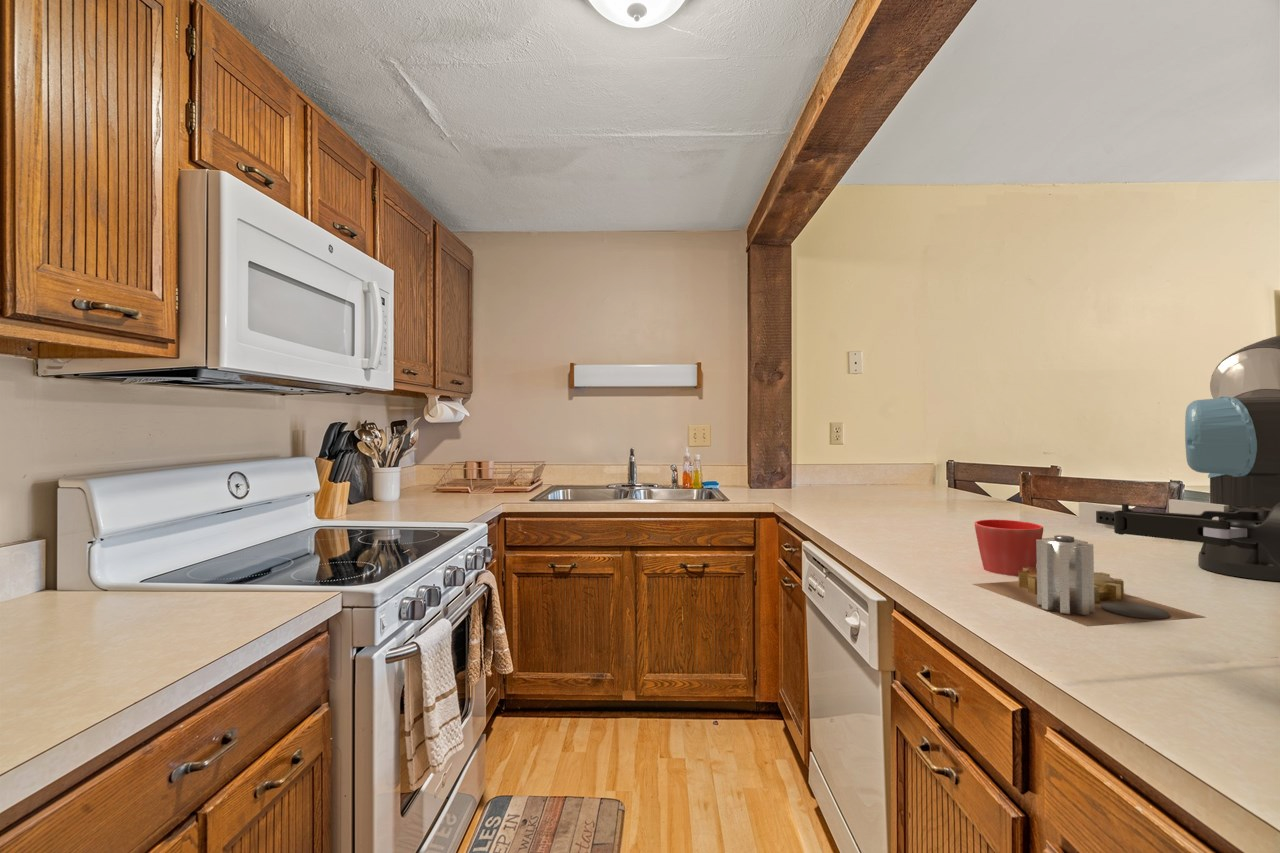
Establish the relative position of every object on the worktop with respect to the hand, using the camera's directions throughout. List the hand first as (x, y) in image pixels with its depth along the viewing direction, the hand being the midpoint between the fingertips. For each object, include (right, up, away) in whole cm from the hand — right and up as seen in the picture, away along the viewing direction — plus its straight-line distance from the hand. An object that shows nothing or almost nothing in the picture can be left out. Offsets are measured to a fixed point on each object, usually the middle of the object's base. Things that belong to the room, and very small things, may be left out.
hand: (1126, 511), depth 78 cm
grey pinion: (-1, -16, +10) cm, 19 cm away
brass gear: (+6, -16, +19) cm, 25 cm away
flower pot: (+5, -17, +33) cm, 37 cm away
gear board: (+4, -17, +15) cm, 23 cm away
